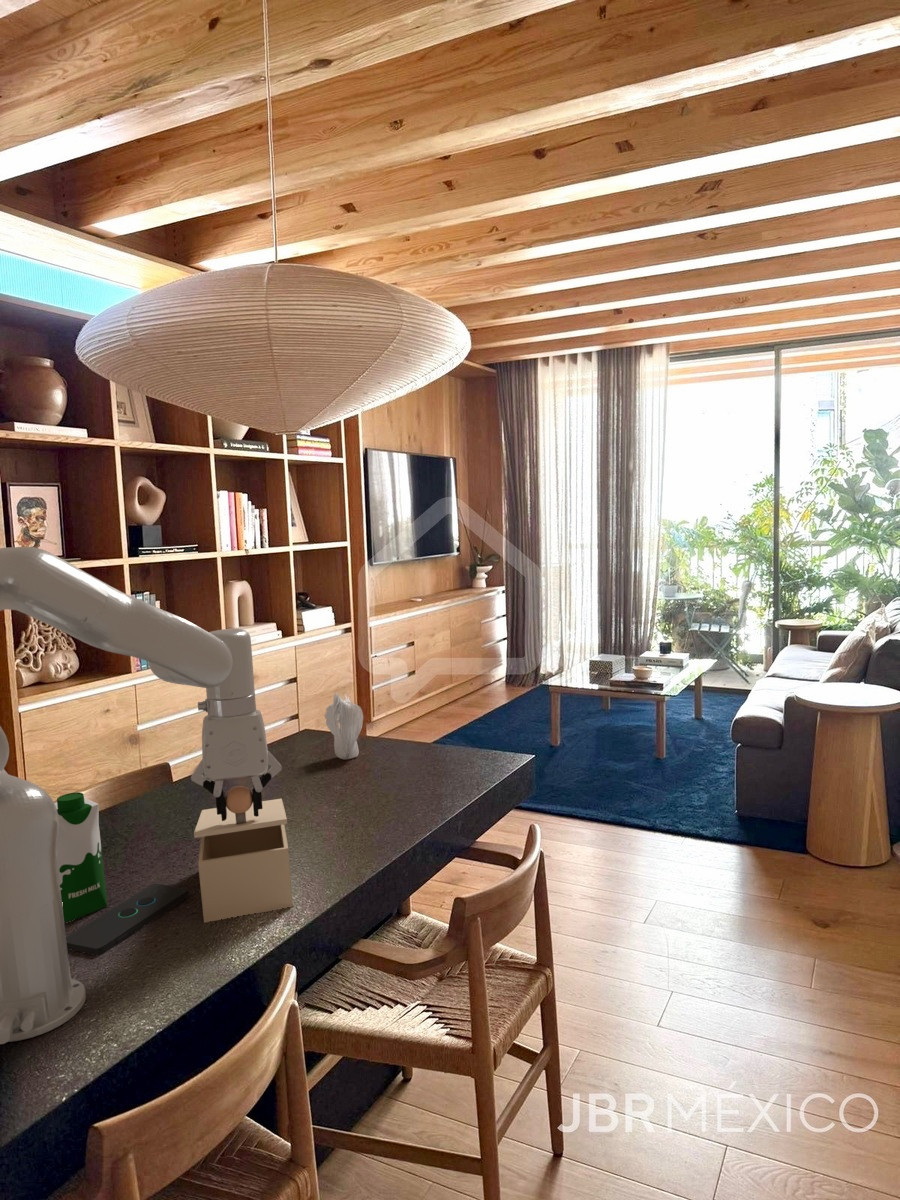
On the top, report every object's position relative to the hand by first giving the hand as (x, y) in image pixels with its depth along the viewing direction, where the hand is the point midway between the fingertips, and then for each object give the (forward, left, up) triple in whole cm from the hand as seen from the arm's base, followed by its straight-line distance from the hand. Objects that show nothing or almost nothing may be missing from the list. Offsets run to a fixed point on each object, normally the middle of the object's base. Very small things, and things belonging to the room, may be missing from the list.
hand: (240, 814), depth 132 cm
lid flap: (+8, 0, -3) cm, 8 cm away
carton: (+8, 0, -16) cm, 17 cm away
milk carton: (+10, +28, -16) cm, 34 cm away
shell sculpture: (+76, -26, -16) cm, 81 cm away
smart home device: (+2, +19, -16) cm, 25 cm away
